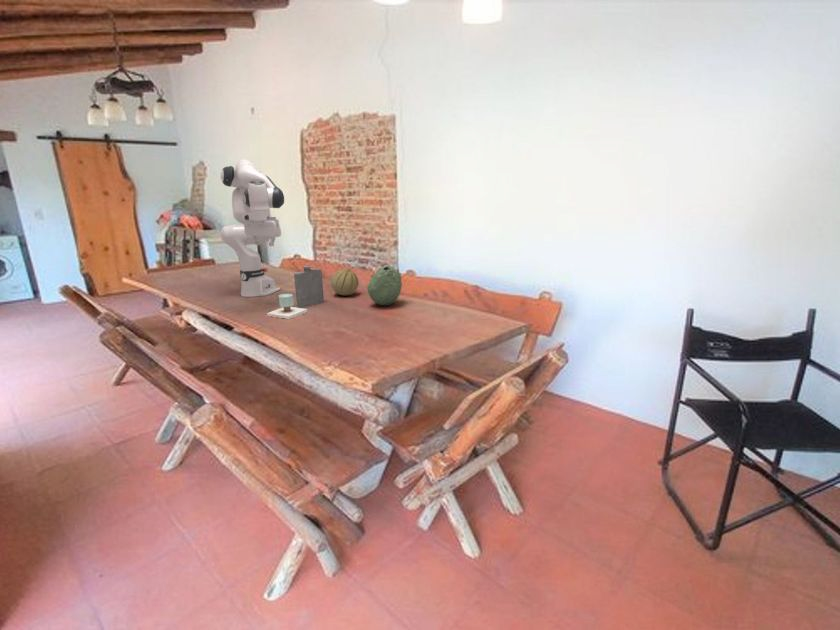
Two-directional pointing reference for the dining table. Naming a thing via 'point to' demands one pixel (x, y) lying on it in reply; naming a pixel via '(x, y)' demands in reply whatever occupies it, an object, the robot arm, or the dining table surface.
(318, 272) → the hip flask
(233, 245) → the robot arm
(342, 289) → the cantaloupe
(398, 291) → the green bumpy rounded body
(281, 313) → the post stand
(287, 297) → the cap
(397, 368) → the dining table surface
